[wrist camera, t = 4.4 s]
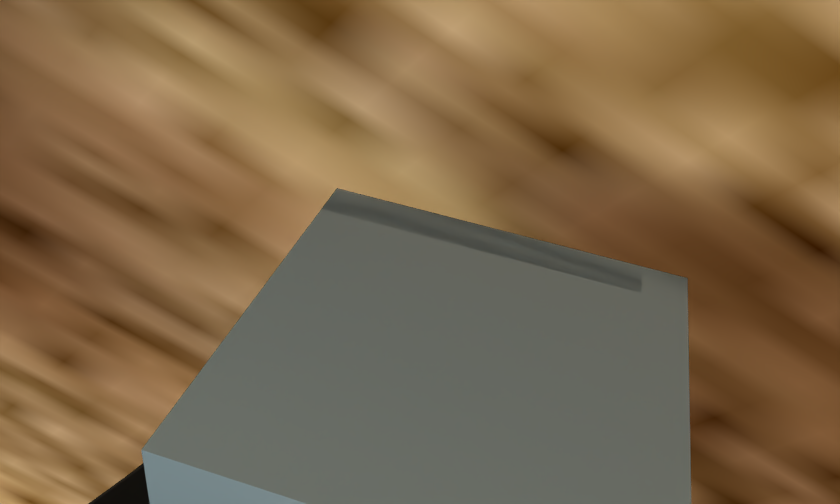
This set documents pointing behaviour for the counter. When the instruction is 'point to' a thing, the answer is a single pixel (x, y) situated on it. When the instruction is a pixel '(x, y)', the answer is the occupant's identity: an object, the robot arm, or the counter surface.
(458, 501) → the small crate
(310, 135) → the counter surface
